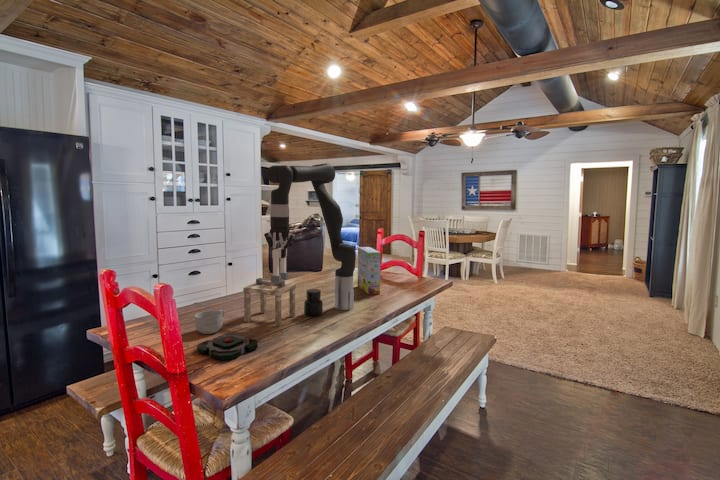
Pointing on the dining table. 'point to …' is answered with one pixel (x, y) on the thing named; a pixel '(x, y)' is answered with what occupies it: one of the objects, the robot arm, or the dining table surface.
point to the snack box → (369, 270)
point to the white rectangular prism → (282, 274)
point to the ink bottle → (313, 303)
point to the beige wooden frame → (261, 289)
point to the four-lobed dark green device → (227, 346)
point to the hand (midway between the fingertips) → (279, 257)
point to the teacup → (209, 321)
